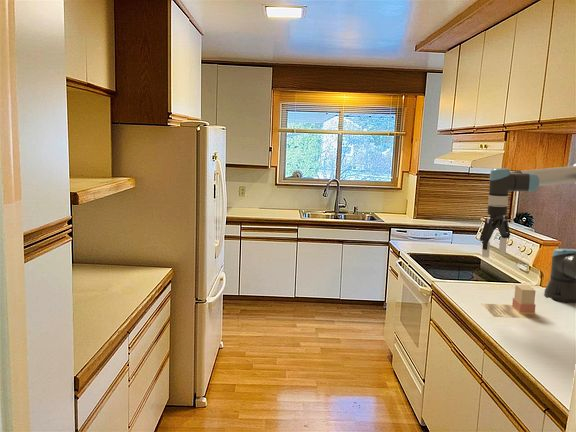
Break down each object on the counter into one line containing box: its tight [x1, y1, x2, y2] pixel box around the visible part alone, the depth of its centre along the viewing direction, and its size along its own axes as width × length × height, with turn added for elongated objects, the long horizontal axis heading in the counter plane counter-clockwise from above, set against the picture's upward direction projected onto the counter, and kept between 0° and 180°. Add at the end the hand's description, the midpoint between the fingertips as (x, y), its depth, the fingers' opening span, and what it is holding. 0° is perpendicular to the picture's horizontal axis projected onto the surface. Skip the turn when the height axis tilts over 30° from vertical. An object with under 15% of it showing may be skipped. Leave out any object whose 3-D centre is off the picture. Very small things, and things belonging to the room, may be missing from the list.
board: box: [481, 303, 541, 320], centre depth 200 cm, size 18×16×1 cm
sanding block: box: [511, 284, 537, 315], centre depth 200 cm, size 6×8×10 cm
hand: (493, 254), depth 204 cm, fingers open, 13 cm apart
